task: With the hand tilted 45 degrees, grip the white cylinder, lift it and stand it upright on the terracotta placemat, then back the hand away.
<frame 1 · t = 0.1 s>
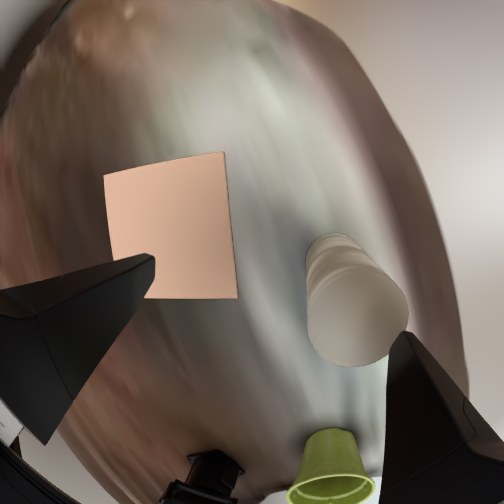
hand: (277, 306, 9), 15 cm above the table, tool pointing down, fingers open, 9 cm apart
white cylinder: (334, 262, 24), on the table
placemat: (164, 231, 26), on the table
plant pot: (329, 440, 29), on the table
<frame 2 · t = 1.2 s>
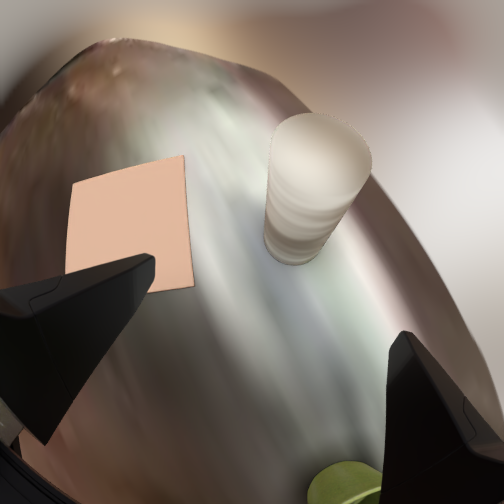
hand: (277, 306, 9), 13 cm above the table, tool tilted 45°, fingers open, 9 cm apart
white cylinder: (293, 236, 24), on the table
placemat: (121, 227, 25), on the table
plant pot: (340, 485, 17), on the table
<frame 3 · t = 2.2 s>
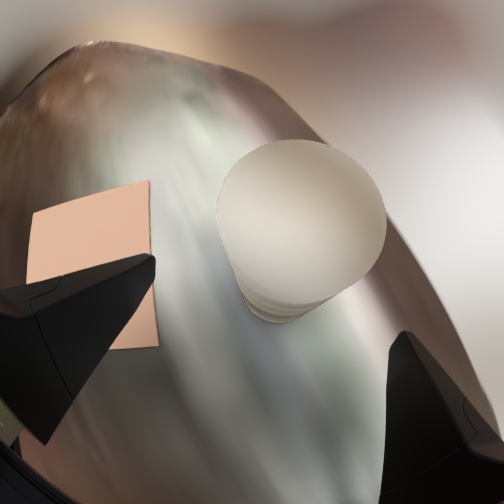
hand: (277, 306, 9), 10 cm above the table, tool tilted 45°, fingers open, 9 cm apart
white cylinder: (278, 286, 19), on the table
placemat: (80, 269, 20), on the table
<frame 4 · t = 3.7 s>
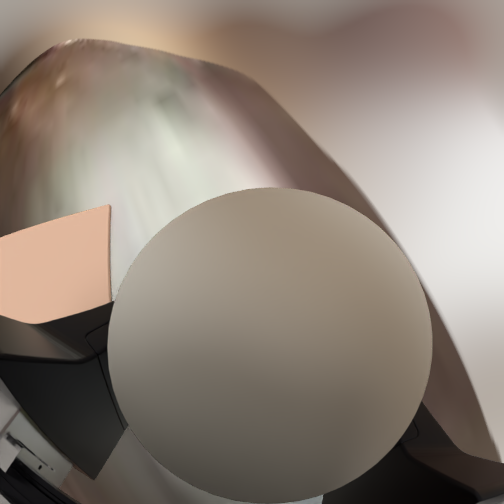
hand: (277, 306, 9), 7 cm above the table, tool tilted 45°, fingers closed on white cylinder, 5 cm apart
white cylinder: (261, 343, 15), on the table, touching gripper
placemat: (40, 308, 16), on the table
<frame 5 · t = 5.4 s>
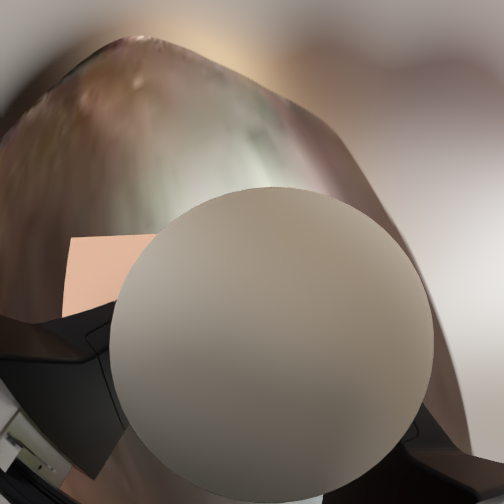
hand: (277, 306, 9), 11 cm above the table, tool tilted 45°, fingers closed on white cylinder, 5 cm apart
white cylinder: (262, 342, 15), point 5 cm above the table, touching gripper
placemat: (125, 314, 20), on the table
when the fingers open (8 cm above the table, at t = 7.3 s): white cylinder drops 1 cm, resting on placemat.
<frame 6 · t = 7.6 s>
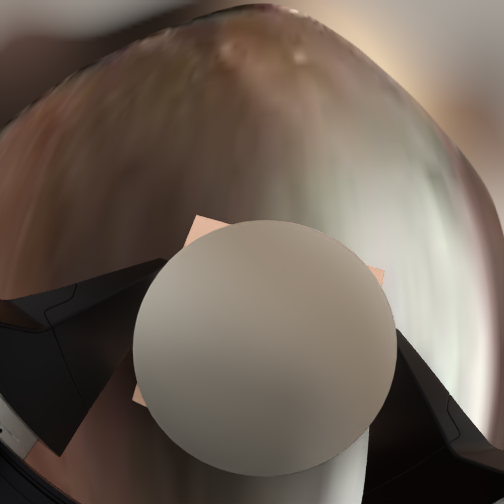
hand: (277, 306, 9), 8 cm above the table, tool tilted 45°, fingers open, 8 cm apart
white cylinder: (262, 344, 16), resting on placemat
placemat: (261, 342, 17), on the table
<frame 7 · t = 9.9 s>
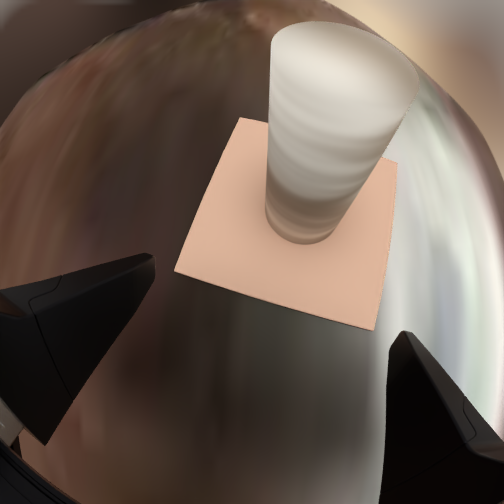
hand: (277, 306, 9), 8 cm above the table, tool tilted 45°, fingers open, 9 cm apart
white cylinder: (302, 208, 19), resting on placemat
placemat: (301, 209, 19), on the table
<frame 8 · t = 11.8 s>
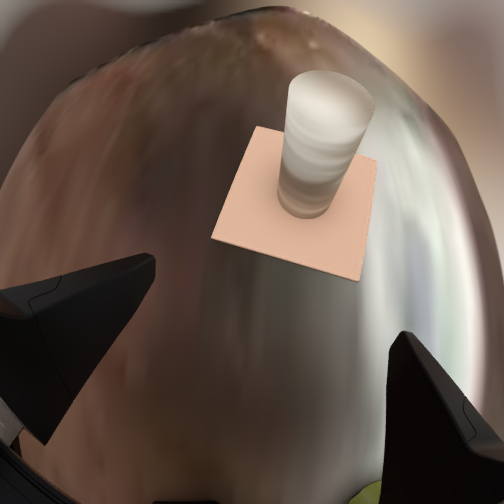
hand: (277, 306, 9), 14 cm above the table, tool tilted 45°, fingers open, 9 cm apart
white cylinder: (304, 193, 25), resting on placemat
placemat: (303, 194, 26), on the table
plant pot: (374, 501, 17), on the table
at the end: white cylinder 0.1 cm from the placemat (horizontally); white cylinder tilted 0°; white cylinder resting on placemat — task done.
